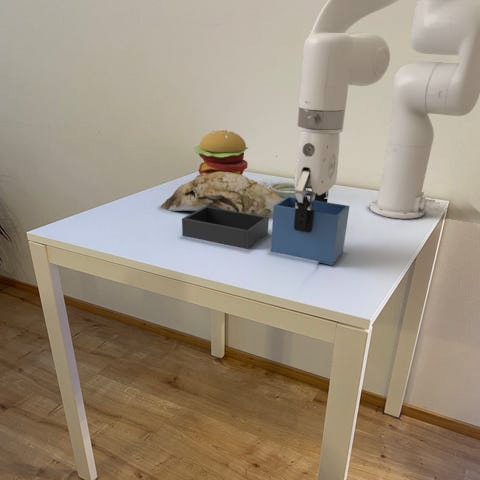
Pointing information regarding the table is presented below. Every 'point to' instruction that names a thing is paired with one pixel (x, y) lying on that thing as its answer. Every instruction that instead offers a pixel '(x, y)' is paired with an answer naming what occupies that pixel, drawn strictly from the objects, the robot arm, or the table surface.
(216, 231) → the charcoal bin
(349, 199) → the table surface
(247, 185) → the rock
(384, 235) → the table surface
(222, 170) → the hamburger
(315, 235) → the blue bin
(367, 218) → the table surface
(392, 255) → the table surface
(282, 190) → the saucer
